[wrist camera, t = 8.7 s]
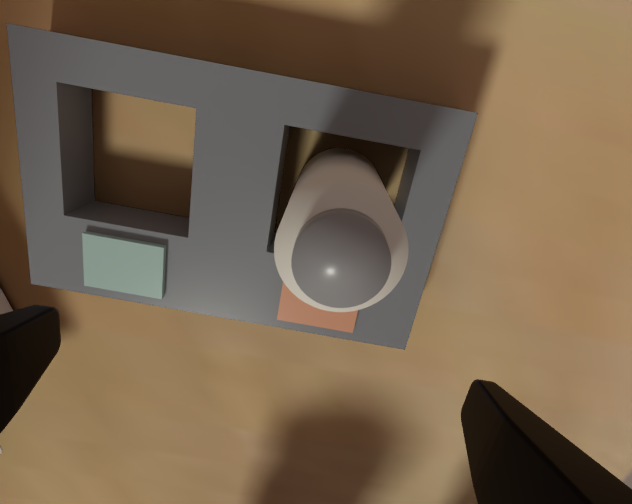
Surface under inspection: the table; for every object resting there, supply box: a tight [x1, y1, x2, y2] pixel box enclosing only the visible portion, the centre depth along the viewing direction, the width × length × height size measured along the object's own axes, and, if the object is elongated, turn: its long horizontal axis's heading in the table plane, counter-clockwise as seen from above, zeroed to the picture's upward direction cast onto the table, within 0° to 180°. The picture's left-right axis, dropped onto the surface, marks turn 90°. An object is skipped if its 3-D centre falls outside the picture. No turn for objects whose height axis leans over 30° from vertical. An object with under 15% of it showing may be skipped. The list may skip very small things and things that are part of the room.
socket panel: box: [7, 23, 478, 350], centre depth 19 cm, size 11×18×3 cm, turn 80°
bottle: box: [274, 148, 409, 312], centre depth 16 cm, size 4×4×9 cm
